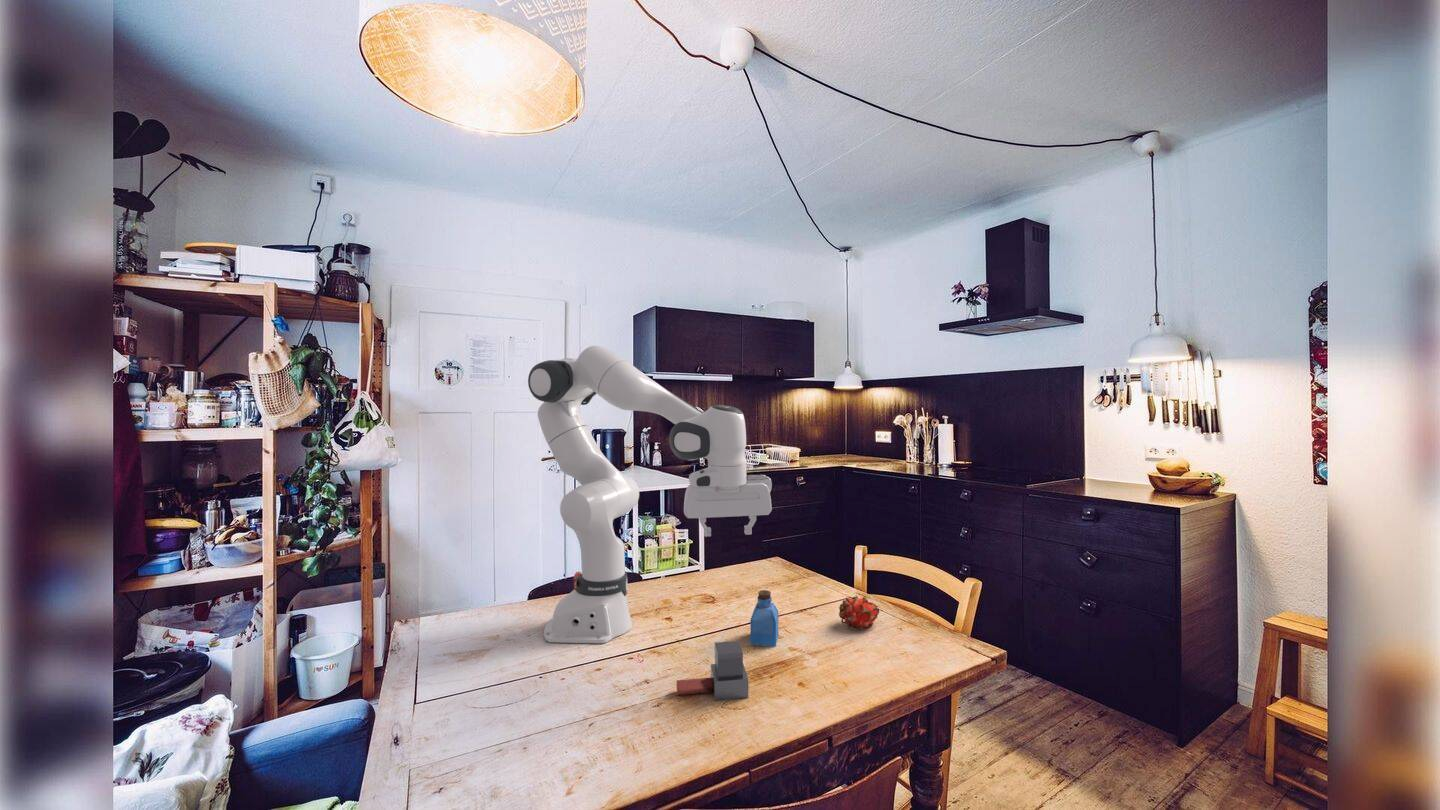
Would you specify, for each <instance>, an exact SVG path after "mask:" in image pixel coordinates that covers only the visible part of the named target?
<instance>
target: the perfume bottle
mask: <svg viewBox="0 0 1440 810" xmlns="http://www.w3.org/2000/svg"><path fill="white" fill-rule="evenodd" d="M757 593H758V596H757V602H756V605H755V607H754V609H753V612H752V614H751V617H750V621H749V622H750V623H749V624H750V627H749V628H750V645H754V646H755V645H756V646H763V647H764V646H765V647H775V646H776V647H777V644H776V643H778V638H779V610H778V608H777V606H776V604H774V602H772V596H771V594H772V592H771V591H769V590H768V589H767V590H765V589H764V590H763V589H762V590H759V591H758V592H757ZM766 645H767V646H766Z"/></svg>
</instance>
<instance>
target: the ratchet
mask: <svg viewBox="0 0 1440 810" xmlns="http://www.w3.org/2000/svg"><path fill="white" fill-rule="evenodd" d="M705 693H712V694H713V698H714V699H713V700H714V701H726V700H737V699H749V676H748V674H747V671H746V667H745V665H744V663H743V677H737V678H725V679H718V677H717V673H716V668H715V663H714V664H713V663H712V664H710V676H709V677H697V678H687V679H677V680H676V695H677V696H679V695H680V696H681V695H695V694H705Z"/></svg>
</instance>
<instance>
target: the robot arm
mask: <svg viewBox="0 0 1440 810" xmlns="http://www.w3.org/2000/svg"><path fill="white" fill-rule="evenodd" d="M527 378H528V379H527V384H528V390H529V392H530V393H531V395H532V396H533V398H535V399H537V400H538V401H540V402H543V403H542V404H541V405H540V406H539V408H538V410H537V418H538V419H537V420H538V423H539V425H540V428H541V431H542V434H543V436H544V439H545V441H546V443H547V445H548V447H549V449H550V451H551V453H552V455H553V458H554V459H555V460H556V463H557V465H558V467H559V469H560V470H561V472H563V474H566V475H568V476H569V477H572V478H574V480H575V481H577V482H578V483H579V485H578V486H577V487H575V488H574V489H572V490H570V491H568V492H567V494H565V495H564V496H563V497H562V499H561V502H560V505H559V512H560V517H561V519H562V521H563V522H564V524H565V525H567V527H569V528H570V529H571V530H573V531H574V533H575V535H576V538H577V540H578V544H579V548H580V558H581V571H576V572H575V573H574V575H573V588H574V589H573V590H572V591H570V593H568V594H567V595H565V596H564V597H563V598H562V599H560V601H558V603H557V604H556V606H555V608H554V611H553V615H552V618H550V619H549V620H548V621H547V622H546V624H545V626H544V629H543V638H545V639H544V640H545V641H546V640H547V641H548V643H563V644H564V643H566V644H567V643H568V644H571V643H572V644H606V643H608V642H609V641H610V640H612V639H614V638H616V637H618V636H621V635H624V634H625V633H627V632H628V631H630V630H631V628H632V627H633V621H632V618H631V614H630V610H629V605H628V598H627V597H628V596H627V594H628V587H629V586H628V574H627V571H626V563H625V561H626V560H625V558H626V556H625V555H626V554H625V543H624V542H623V540H622V539H621V538H619V537H618V536H617V535H616V534H615V530H614V525H613V522H614V520H615V519H617V518H620V517H622V516H624V515H626V514H627V513H628V512H630V511H631V510H632V509H633V508H634V507H635V506H636V505H637V503H638V502H639V499H640V490H639V489H640V488H639V487H638V484H637V483H636V481H635V480H634V479H633V478H632V477H631V476H628V475H625V474H624V473H622V472H621V471H620V470H619V469H617V468H616V467H615V466H614V465H613V464H612V462H611V461H609V459H608V458H607V457H606V456H605V454H604V453H603V452H602V450H601V449H600V447H599V446H598V443H597V442H596V440H595V438H594V436H593V435H592V433H591V431H590V430H589V427H588V425H587V423H586V421H585V420H584V418H583V415H582V413H581V405H582V406H585V405H588V404H589V403H590V402H591V400H592V399H593V397H594V396H596V395H598V396H599V397H600V398H602V399H603V400H604V401H606V402H607V403H608V404H610V405H612V406H614V407H616V408H618V409H620V410H624V411H630V412H631V411H632V412H635V411H637V412H646V413H652V414H656V415H660V416H661V417H663V418H665V419H666V420H668V421H670V422H671V423H672V424H674V426H673V427H672V428H671V429H670V431H669V432H670V433H669V436H668V442H669V447H670V449H671V452H672V453H673V454H674V455H675V456H676V457H677V458H678V459H680V460H684V461H696V460H699V459H706V460H707V467H706V468H703V469H700V470H697V471H694V472H691V473H689V475H688V482H689V485H687V487H686V488H685V489H686V490H685V493H684V501H683V514H684V516H685V517H686V518H687V519H698V521H699V522H700V526H702V528H703V535H704V537H705V538H706V537H712V528H711V527H710V526H707V525H706V523H707V518H726V517H731V518H733V517H748V519H749V522H748V524H746V525H744V528H743V529H744V530H743V532H744V534H745V535H747V536H748V535H752V534H753V533H752V531H753V530H752V528H753V527H754V526H755V523H756V521H757V516H769V514H771V512H772V510H773V509H772V508H773V507H772V499H771V491H772V488H773V483H772V479H771V478H770V477H769V476H766V474H747V458H746V454H745V453H746V452H745V451H746V447H747V429H746V428H747V427H746V420H745V416H744V413H743V411H741V409H739V408H737V407H735V406H731V405H724V404H714V405H712V406H710V407H709V408H708V409H707V410H706V411H702V410H700V409H698V408H696V407H695V406H693V405H692V404H691V403H689V402H687V401H685V400H684V399H682V398H681V397H679V396H678V395H676V394H675V393H673V392H672V391H670V390H668V388H667V389H666V388H665V387H664V386H662V385H660V384H659V383H657V382H656V381H655V380H653V379H652V378H650V377H649V376H648V375H646V374H645V373H644V372H642V371H641V370H639V369H638V368H637V367H636V366H634V365H633V364H631V363H630V362H629V361H628V360H626V359H624V358H623V357H622V356H620V355H618V354H617V353H615V352H614V351H611V350H609V349H608V348H605V347H603V346H600V345H590V346H588V347H586V348H585V349H584V350H582V351H581V352H580V354H579V355H578V357H577V358H568V357H567V358H561V359H555V360H553V359H550V360H545V361H542V362H539V363H537V364H535V365H534V366H533V367H532V368H531V369H530V371H529V374H528V377H527ZM547 641H546V642H547Z"/></svg>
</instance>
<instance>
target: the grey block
mask: <svg viewBox="0 0 1440 810" xmlns="http://www.w3.org/2000/svg"><path fill="white" fill-rule="evenodd" d="M743 655H744V652H743V650H742V646H741V643H740V641H739V640H735V641H719V642H714V664H715V668H716V673H717V677H718V679H725V678H737V677H743V664H744V659H743V658H744V656H743Z"/></svg>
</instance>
